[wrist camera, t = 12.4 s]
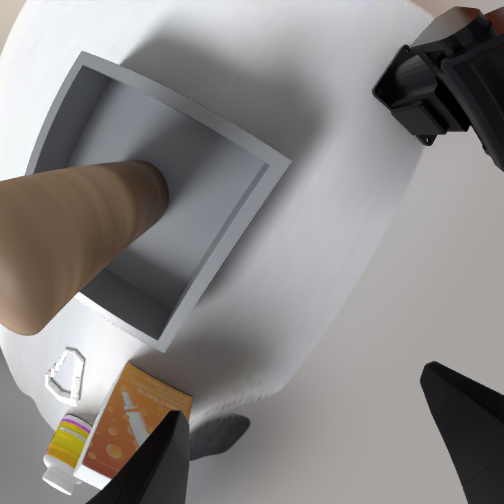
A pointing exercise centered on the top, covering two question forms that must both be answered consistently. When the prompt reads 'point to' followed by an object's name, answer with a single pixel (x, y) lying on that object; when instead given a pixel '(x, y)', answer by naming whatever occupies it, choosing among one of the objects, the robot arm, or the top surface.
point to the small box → (126, 423)
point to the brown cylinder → (69, 233)
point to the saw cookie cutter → (74, 395)
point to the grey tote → (179, 185)
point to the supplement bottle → (66, 453)
